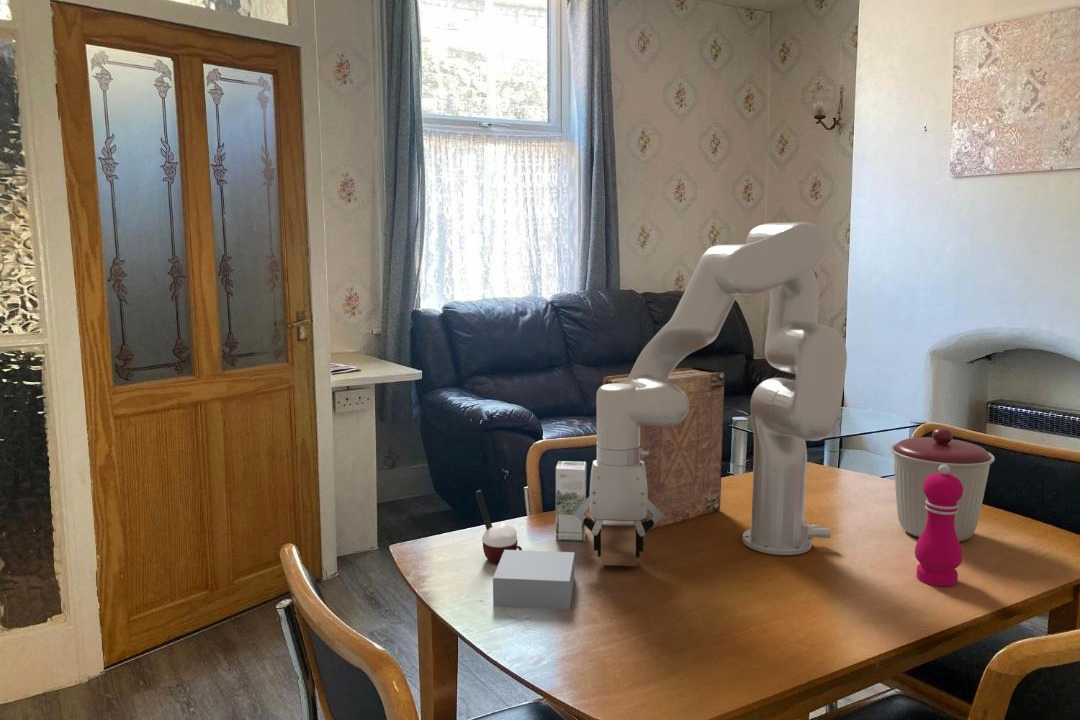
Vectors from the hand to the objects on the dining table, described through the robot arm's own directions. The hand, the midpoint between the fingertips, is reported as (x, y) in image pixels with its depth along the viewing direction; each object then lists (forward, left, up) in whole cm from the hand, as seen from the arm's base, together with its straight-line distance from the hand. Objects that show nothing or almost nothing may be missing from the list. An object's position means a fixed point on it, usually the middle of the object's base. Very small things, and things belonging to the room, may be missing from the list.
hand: (618, 553), depth 143 cm
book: (-9, -28, -2) cm, 29 cm away
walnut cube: (0, 0, -1) cm, 1 cm away
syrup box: (+9, -14, -2) cm, 17 cm away
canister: (-62, -23, -2) cm, 66 cm away
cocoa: (+21, -1, -2) cm, 22 cm away
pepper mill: (-54, 0, -2) cm, 54 cm away
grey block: (+13, +12, -3) cm, 18 cm away
